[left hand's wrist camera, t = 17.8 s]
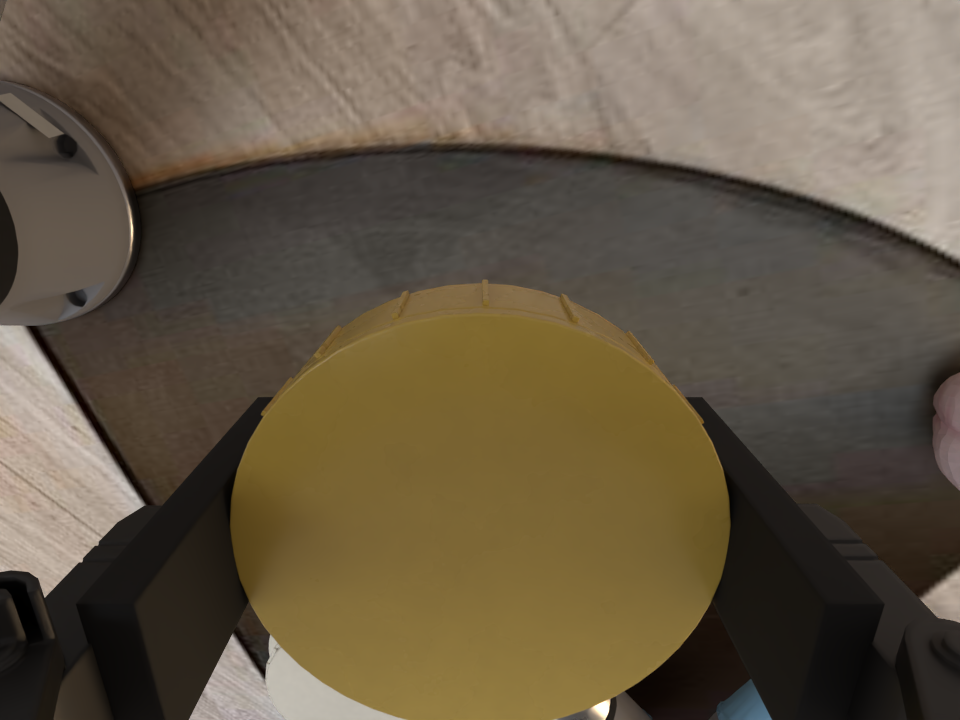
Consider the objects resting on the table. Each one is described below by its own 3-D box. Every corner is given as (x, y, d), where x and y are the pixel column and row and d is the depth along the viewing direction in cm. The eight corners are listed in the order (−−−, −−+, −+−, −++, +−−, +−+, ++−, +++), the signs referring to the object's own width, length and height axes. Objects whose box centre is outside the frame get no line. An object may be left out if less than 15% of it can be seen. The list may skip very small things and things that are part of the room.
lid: (381, 690, 14) (365, 778, 12) (183, 381, 12) (120, 431, 10) (736, 579, 13) (782, 657, 11) (615, 202, 10) (647, 216, 8)
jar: (368, 409, 43) (290, 593, 26) (469, 454, 45) (462, 658, 27) (327, 495, 46) (231, 717, 28) (424, 535, 47) (390, 770, 29)
